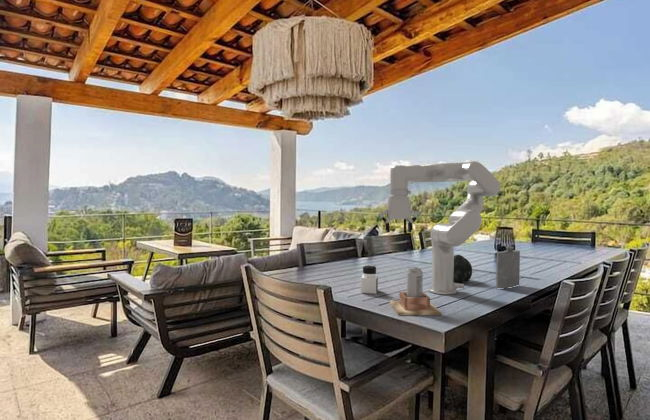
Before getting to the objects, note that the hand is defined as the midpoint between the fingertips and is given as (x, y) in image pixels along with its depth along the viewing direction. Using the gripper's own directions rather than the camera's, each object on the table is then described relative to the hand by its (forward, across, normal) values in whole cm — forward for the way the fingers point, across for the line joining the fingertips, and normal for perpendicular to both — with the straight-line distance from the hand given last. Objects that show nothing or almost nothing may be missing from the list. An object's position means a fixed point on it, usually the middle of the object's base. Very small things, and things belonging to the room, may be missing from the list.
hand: (398, 232), depth 168 cm
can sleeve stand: (+28, -2, +21) cm, 35 cm away
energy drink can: (+27, -2, +21) cm, 34 cm away
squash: (+29, -37, -28) cm, 55 cm away
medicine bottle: (+28, +12, -6) cm, 32 cm away
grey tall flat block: (+29, -57, -14) cm, 65 cm away
